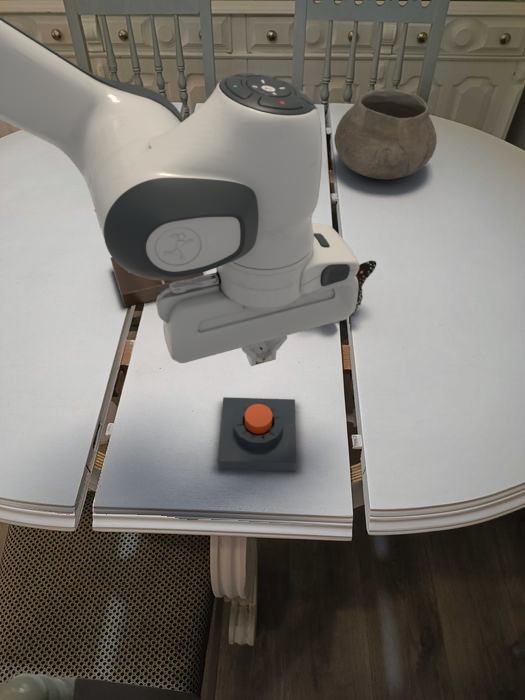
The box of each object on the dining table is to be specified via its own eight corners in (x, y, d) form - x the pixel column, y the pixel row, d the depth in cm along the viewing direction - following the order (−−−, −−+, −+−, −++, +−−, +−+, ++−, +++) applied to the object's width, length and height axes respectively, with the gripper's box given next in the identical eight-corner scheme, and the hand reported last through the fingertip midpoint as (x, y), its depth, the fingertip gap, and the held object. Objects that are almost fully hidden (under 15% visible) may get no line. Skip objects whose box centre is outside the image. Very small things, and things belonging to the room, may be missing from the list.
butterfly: (348, 283, 93) (357, 237, 86) (376, 320, 88) (388, 274, 80) (285, 300, 90) (288, 253, 83) (309, 339, 84) (315, 293, 77)
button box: (218, 469, 69) (217, 453, 66) (223, 406, 76) (222, 389, 73) (295, 471, 69) (297, 456, 66) (293, 408, 76) (295, 391, 73)
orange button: (244, 434, 68) (244, 426, 67) (245, 410, 71) (245, 403, 70) (272, 434, 68) (272, 427, 67) (272, 411, 71) (272, 404, 70)
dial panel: (124, 307, 88) (121, 293, 86) (113, 270, 94) (110, 256, 92) (205, 288, 92) (204, 274, 89) (189, 254, 98) (188, 240, 95)
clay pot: (349, 137, 128) (359, 72, 117) (437, 157, 123) (456, 91, 111) (317, 180, 115) (324, 112, 104) (413, 206, 110) (432, 136, 98)
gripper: (162, 312, 45) (178, 406, 55) (375, 260, 50) (353, 355, 60) (145, 266, 49) (163, 362, 59) (345, 222, 54) (329, 318, 64)
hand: (260, 358), depth 60 cm, fingers closed
